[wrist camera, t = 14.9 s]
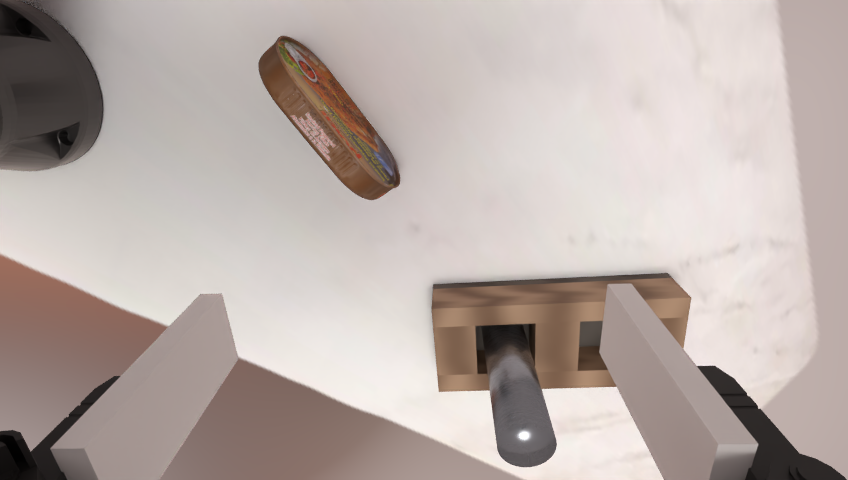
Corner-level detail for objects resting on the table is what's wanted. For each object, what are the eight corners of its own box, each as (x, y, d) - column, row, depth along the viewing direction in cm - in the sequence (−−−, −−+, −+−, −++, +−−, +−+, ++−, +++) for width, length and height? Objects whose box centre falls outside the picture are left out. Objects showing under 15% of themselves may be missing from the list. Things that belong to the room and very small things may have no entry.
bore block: (440, 361, 53) (438, 391, 48) (433, 284, 49) (431, 308, 44) (656, 354, 51) (677, 384, 46) (667, 273, 47) (691, 297, 42)
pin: (482, 345, 50) (498, 467, 35) (480, 310, 48) (496, 424, 34) (522, 343, 50) (556, 466, 35) (522, 308, 48) (557, 421, 33)
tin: (406, 170, 44) (397, 196, 37) (381, 189, 45) (366, 218, 37) (302, 34, 40) (266, 30, 32) (276, 57, 41) (235, 59, 33)
